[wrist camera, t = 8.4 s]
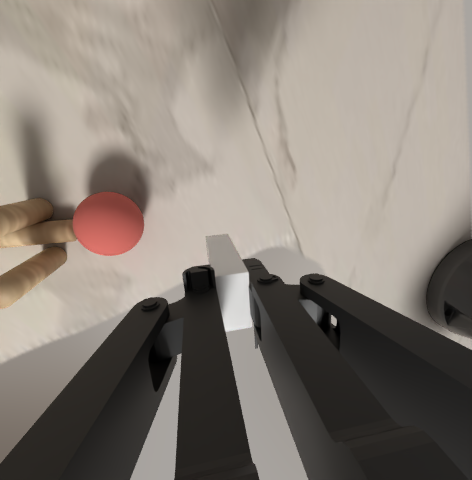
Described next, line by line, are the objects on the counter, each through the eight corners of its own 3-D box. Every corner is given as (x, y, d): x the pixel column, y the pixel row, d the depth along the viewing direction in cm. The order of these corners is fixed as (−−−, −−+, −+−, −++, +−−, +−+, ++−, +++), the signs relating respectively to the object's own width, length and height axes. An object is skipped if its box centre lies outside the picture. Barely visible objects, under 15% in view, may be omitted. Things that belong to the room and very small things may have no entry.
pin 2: (69, 250, 27) (18, 286, 19) (63, 268, 27) (11, 311, 19) (46, 243, 26) (-17, 278, 18) (41, 262, 27) (-23, 304, 19)
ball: (48, 213, 23) (107, 210, 28) (76, 272, 22) (130, 258, 28) (82, 176, 20) (140, 181, 25) (114, 243, 20) (166, 233, 25)
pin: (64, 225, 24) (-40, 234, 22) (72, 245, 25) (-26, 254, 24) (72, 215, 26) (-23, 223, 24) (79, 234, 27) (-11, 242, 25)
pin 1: (55, 202, 25) (-7, 220, 17) (50, 223, 26) (-13, 248, 18) (30, 194, 25) (-46, 208, 17) (26, 215, 25) (-51, 238, 17)
